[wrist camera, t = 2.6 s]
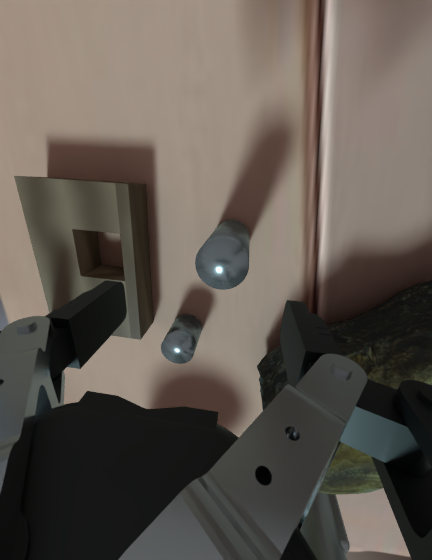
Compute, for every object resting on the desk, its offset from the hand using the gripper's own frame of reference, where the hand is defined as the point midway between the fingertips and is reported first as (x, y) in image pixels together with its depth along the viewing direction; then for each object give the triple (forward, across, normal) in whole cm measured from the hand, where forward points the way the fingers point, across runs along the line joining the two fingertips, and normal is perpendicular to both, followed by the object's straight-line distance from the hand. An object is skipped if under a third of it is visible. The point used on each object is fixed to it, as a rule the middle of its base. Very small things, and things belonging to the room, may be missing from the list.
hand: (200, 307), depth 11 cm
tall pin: (+16, 0, 0) cm, 16 cm away
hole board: (+16, +16, +4) cm, 23 cm away
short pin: (+16, +5, +13) cm, 21 cm away
